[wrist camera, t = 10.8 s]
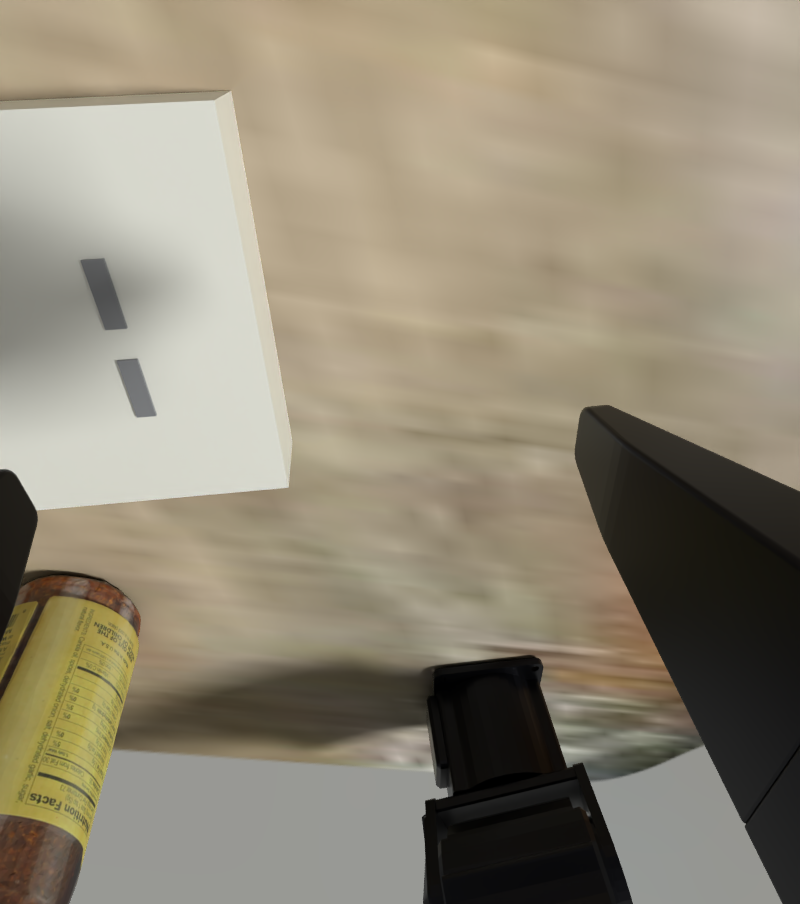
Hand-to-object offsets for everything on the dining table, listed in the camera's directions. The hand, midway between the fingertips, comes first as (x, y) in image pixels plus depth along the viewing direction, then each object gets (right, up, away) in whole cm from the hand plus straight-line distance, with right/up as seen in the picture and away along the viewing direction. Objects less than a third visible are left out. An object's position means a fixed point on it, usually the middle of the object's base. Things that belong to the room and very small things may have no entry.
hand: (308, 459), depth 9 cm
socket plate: (-12, +5, +10) cm, 16 cm away
